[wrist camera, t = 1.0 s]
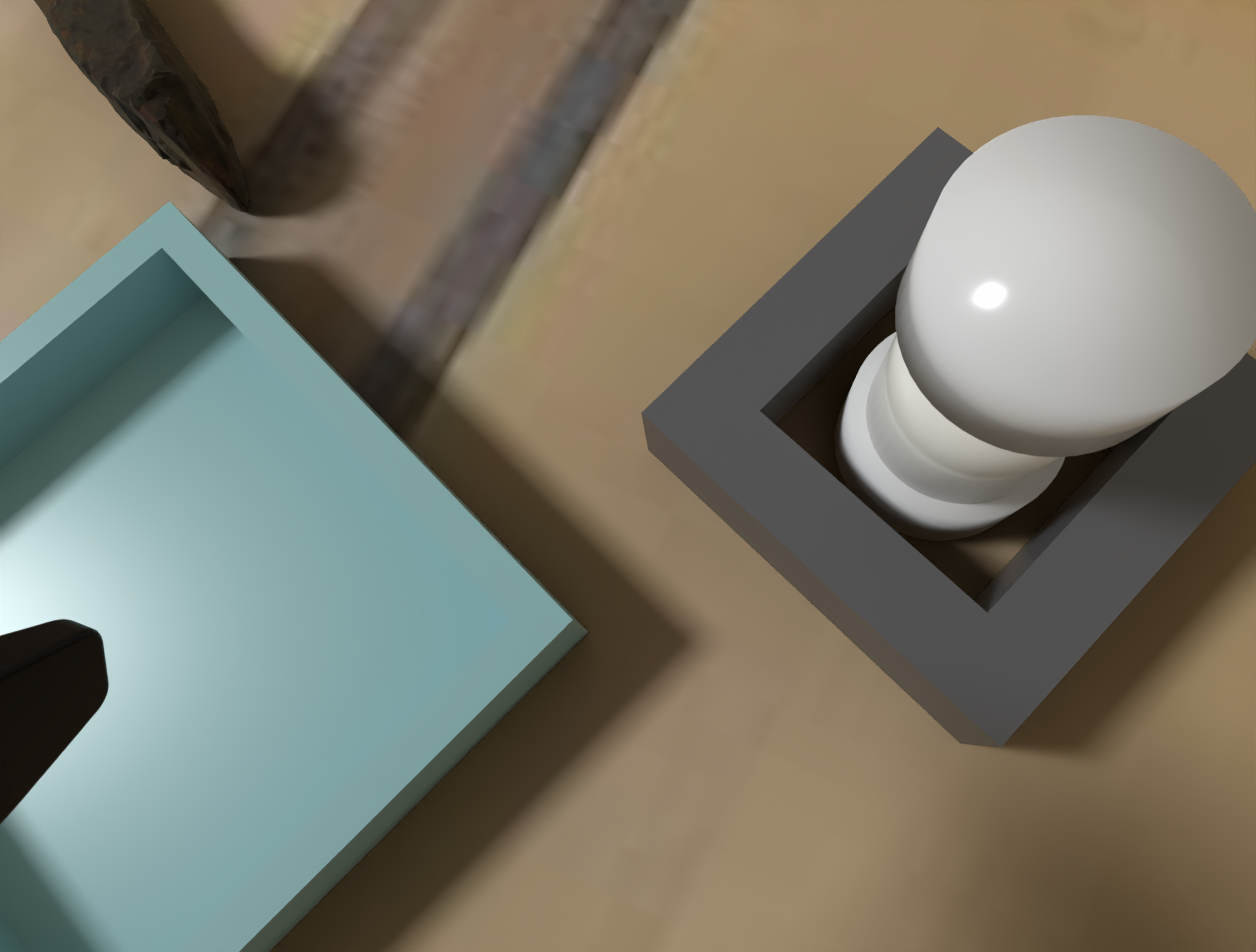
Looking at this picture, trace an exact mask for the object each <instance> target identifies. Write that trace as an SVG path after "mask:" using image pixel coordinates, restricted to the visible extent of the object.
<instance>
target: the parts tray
mask: <svg viewBox="0 0 1256 952" xmlns="http://www.w3.org/2000/svg"><path fill="white" fill-rule="evenodd" d="M58 619H68V620H73V621H75V622H78V623H80V624H83V625H86V626H88V627H91V628H93V629H95V630H97V631H98V632H99V633H100V635H101V636H102V639H103V644H104V651H105V659H106V666H107V673H108V681H109V688H108V693H107V696H106V698H105V700H104V702H103V704H102V706H101V707H100V708H99V710H98V711H97V712H96V713H95V715H94V716H93V717H92V718H91V719H90V721H89V722H88V723H87V724H86V725H85V726H84V728H83V729H82V730H81V731H80V732H79V734H78V735H77V736H76V737H75V738H74V739H73V741H72V742H71V743H70V744H69V745H68V747H67V748H66V749H65V750H64V751H63V752H62V754H61V755H60V756H59V757H58V758H57V760H56V761H55V762H54V763H53V764H52V765H51V767H50V768H49V769H48V770H47V771H46V772H45V774H44V775H43V776H42V777H41V778H40V780H39V781H38V782H37V783H36V784H35V785H34V787H33V788H32V789H31V790H30V791H29V793H28V794H27V795H26V796H25V797H24V798H23V800H22V801H21V802H20V803H19V804H18V806H17V807H16V808H15V809H14V810H13V811H12V812H11V813H10V815H9V816H8V817H7V818H6V819H5V820H4V821H3V822H2V824H1V825H0V952H269V951H270V950H271V949H272V948H273V947H274V946H275V945H276V944H277V943H278V942H279V941H280V940H281V939H282V938H283V937H284V936H285V935H286V934H287V933H288V932H289V931H290V930H291V929H292V928H293V927H294V926H295V925H296V924H297V923H298V922H299V921H300V920H301V919H302V918H303V917H304V916H305V915H306V914H307V913H308V912H309V911H310V910H311V909H312V908H313V907H314V906H315V905H316V904H317V903H318V902H319V901H320V900H321V899H322V898H323V897H324V896H325V895H326V894H327V893H328V892H329V891H330V890H331V889H332V888H333V887H334V886H335V885H336V884H337V883H338V882H339V881H340V880H341V879H342V878H343V877H344V876H345V875H346V874H347V873H348V872H349V871H350V870H351V869H352V868H353V867H354V866H355V865H356V864H357V863H358V862H359V861H360V860H361V859H362V858H363V857H364V856H365V855H366V854H367V853H368V852H369V851H370V850H371V849H372V848H373V847H374V846H375V845H376V844H377V843H378V842H379V841H380V840H381V839H382V838H383V837H384V836H385V835H386V834H387V833H388V832H389V831H390V830H391V829H392V828H393V827H394V826H395V825H396V824H397V823H398V822H399V821H400V820H401V819H402V818H403V817H404V816H405V815H406V814H407V813H408V812H409V811H410V810H411V809H412V808H413V807H414V806H415V805H416V804H417V803H418V802H419V801H420V800H421V799H422V798H423V797H424V796H425V795H426V794H427V793H428V792H429V791H430V790H431V789H432V788H433V787H434V786H435V785H436V784H437V783H438V782H439V781H440V780H441V779H442V778H443V777H444V776H445V775H446V774H447V773H448V772H449V771H450V770H451V769H452V768H453V767H454V766H455V765H456V764H457V763H458V762H459V761H460V760H461V759H462V758H463V757H464V756H465V755H466V754H467V753H468V752H469V751H470V750H471V749H472V748H473V747H474V746H475V745H476V744H477V743H478V742H479V741H480V740H481V739H482V738H483V737H484V736H485V735H486V734H487V733H488V732H489V731H490V730H491V729H492V728H493V727H494V726H495V725H496V724H497V723H498V722H499V721H500V720H501V719H502V718H503V717H504V716H505V715H506V714H507V713H508V712H509V711H510V710H511V709H512V708H513V707H514V706H515V705H516V704H517V703H518V702H519V701H520V700H521V699H522V698H523V697H524V696H525V695H526V694H527V693H528V692H529V691H530V690H531V689H532V688H533V687H534V686H535V685H536V684H537V683H538V682H539V681H540V680H541V679H542V678H543V677H544V676H545V675H546V674H547V673H548V672H549V671H550V670H551V669H552V668H553V667H554V666H555V665H556V664H557V663H558V662H559V661H560V660H561V659H562V658H563V657H564V656H565V655H566V654H567V653H568V652H569V651H570V650H571V649H572V648H573V647H574V646H575V645H576V644H577V643H578V642H579V641H580V640H581V639H582V638H583V637H584V636H585V635H586V634H587V633H588V631H587V630H586V629H585V628H584V627H583V626H582V625H581V624H580V623H579V622H578V621H577V620H576V619H575V618H574V616H573V615H572V614H571V613H570V612H569V611H568V610H567V609H566V608H565V607H564V606H563V605H562V604H561V603H560V602H559V601H558V600H557V599H556V598H555V597H554V596H553V595H552V594H551V593H550V592H549V591H548V590H547V588H546V587H545V586H544V585H543V584H542V583H541V582H540V581H539V580H538V579H537V578H536V577H535V576H534V575H533V574H532V573H531V572H530V571H529V570H528V569H527V568H526V567H525V566H524V565H523V564H522V563H521V562H520V560H519V559H518V558H517V557H516V556H515V555H514V554H513V553H512V552H511V551H510V550H509V549H508V548H507V547H506V546H505V545H504V544H503V543H502V542H501V541H500V540H499V539H498V538H497V537H496V536H495V535H494V533H493V532H492V531H491V530H490V529H489V528H488V527H487V526H486V525H485V524H484V523H483V522H482V521H481V520H480V519H479V518H478V517H477V516H476V515H475V514H474V513H473V512H472V511H471V510H470V509H469V508H468V507H467V505H466V504H465V503H464V502H463V501H462V500H461V499H460V498H459V497H458V496H457V495H456V494H455V493H454V492H453V491H452V490H451V489H450V488H449V487H448V486H447V485H446V484H445V483H444V482H443V481H442V480H441V479H440V477H439V476H438V475H437V474H436V473H435V472H434V471H433V470H432V469H431V468H430V467H429V466H428V465H427V464H426V463H425V462H424V461H423V460H422V459H421V458H420V457H419V456H418V455H417V454H416V453H415V452H414V451H413V449H412V448H411V447H410V446H409V445H408V444H407V443H406V442H405V441H404V440H403V439H402V438H401V437H400V436H399V435H398V434H397V433H396V432H395V431H394V430H393V429H392V428H391V427H390V426H389V425H388V424H387V423H386V421H385V420H384V419H383V418H382V417H381V416H380V415H379V414H378V413H377V412H376V411H375V410H374V409H373V408H372V407H371V406H370V405H369V404H368V403H367V402H366V401H365V400H364V399H363V398H362V397H361V396H360V395H359V393H358V392H357V391H356V390H355V389H354V388H353V387H352V386H351V385H350V384H349V383H348V382H347V381H346V380H345V379H344V378H343V377H342V376H341V375H340V374H339V373H338V372H337V371H336V370H335V369H334V368H333V367H332V365H331V364H330V363H329V362H328V361H327V360H326V359H325V358H324V357H323V356H322V355H321V354H320V353H319V352H318V351H317V350H316V349H315V348H314V347H313V346H312V345H311V344H310V343H309V342H308V341H307V340H306V339H305V337H304V336H303V335H302V334H301V333H300V332H299V331H298V330H297V329H296V328H295V327H294V326H293V325H292V324H291V323H290V322H289V321H288V320H287V319H286V318H285V317H284V316H283V315H282V314H281V313H280V312H279V311H278V309H277V308H276V307H275V306H274V305H273V304H272V303H271V302H270V301H269V300H268V299H267V298H266V297H265V296H264V295H263V294H262V293H261V292H260V291H259V290H258V289H257V288H256V287H255V286H254V285H253V284H252V283H251V281H250V280H249V279H248V278H247V277H246V276H245V275H244V274H243V273H242V272H241V271H240V270H239V269H238V268H237V267H236V266H235V265H234V264H233V263H232V262H231V261H230V260H229V259H228V258H227V257H226V256H225V255H224V254H223V253H222V252H221V251H220V250H219V249H218V248H217V247H216V246H215V245H214V244H213V243H212V242H211V241H210V240H209V239H208V238H207V237H206V236H205V235H204V234H203V233H202V232H201V231H200V230H199V229H198V228H197V227H196V226H195V225H194V224H193V223H191V222H190V221H189V220H188V219H187V218H186V217H185V216H184V215H183V214H182V213H181V212H180V211H179V210H178V209H177V208H176V207H175V206H174V205H173V204H172V203H171V202H170V201H169V202H168V203H166V204H165V205H164V206H163V207H162V208H160V209H159V210H158V211H157V212H156V213H155V214H153V215H152V216H151V217H150V218H149V219H147V220H146V221H145V222H144V223H143V224H141V225H140V226H139V227H138V228H137V229H135V230H134V231H133V232H132V233H131V234H129V235H128V236H127V237H126V238H125V239H123V240H122V241H121V242H120V243H119V244H117V245H116V246H115V247H114V248H113V249H111V250H110V251H109V252H108V253H107V254H105V255H104V256H103V257H102V258H101V259H99V260H98V261H97V262H96V263H95V264H93V265H92V266H91V267H90V268H89V269H87V270H86V271H85V272H84V273H83V274H81V275H80V276H79V277H78V278H77V279H75V280H74V281H73V282H72V283H71V284H69V285H68V286H67V287H66V288H65V289H63V290H62V291H61V292H60V293H59V294H57V295H56V296H55V297H54V298H53V299H51V300H50V301H49V302H48V303H47V304H45V305H44V306H43V307H42V308H41V309H39V310H38V311H37V312H36V313H35V314H33V315H32V316H31V317H30V318H29V319H27V320H26V321H25V322H24V323H23V324H21V325H20V326H19V327H18V328H17V329H15V330H14V331H13V332H12V333H11V334H9V335H8V336H7V337H6V338H5V339H3V340H2V341H1V342H0V635H4V634H7V633H11V632H14V631H18V630H21V629H25V628H28V627H32V626H35V625H39V624H43V623H46V622H50V621H53V620H58Z"/></svg>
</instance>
